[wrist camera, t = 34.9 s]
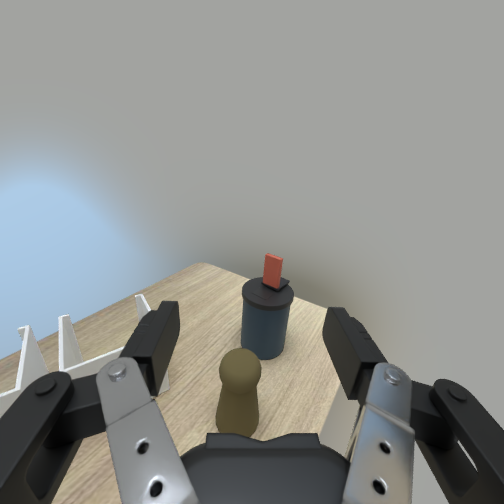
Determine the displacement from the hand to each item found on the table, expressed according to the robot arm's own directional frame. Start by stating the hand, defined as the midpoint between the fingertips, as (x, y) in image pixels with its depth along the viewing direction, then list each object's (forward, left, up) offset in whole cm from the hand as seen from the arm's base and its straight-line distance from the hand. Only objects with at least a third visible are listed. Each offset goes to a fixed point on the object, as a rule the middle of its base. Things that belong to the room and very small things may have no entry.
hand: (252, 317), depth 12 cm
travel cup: (+22, -11, -26) cm, 36 cm away
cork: (+10, -3, -26) cm, 28 cm away
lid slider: (+24, -13, -14) cm, 30 cm away
